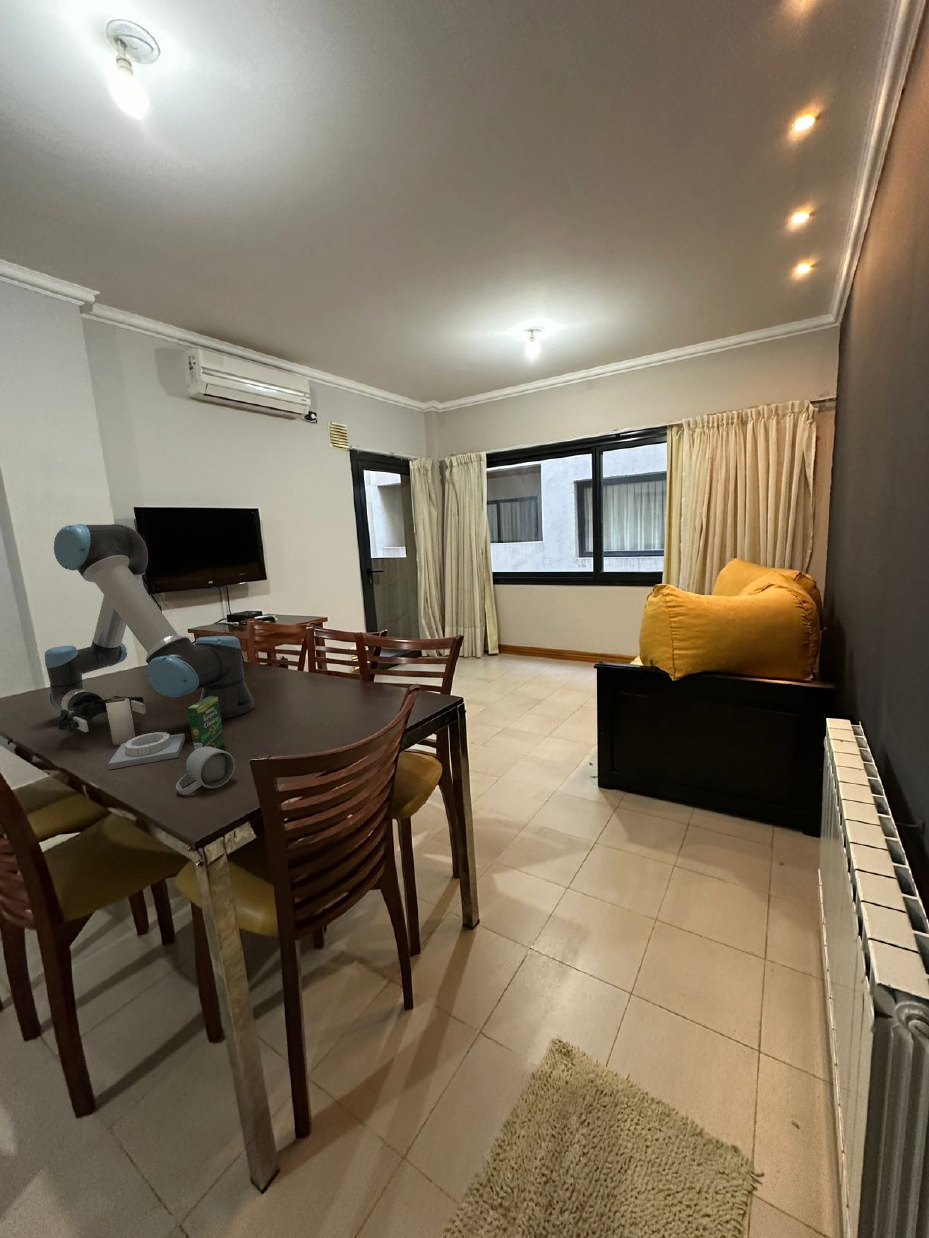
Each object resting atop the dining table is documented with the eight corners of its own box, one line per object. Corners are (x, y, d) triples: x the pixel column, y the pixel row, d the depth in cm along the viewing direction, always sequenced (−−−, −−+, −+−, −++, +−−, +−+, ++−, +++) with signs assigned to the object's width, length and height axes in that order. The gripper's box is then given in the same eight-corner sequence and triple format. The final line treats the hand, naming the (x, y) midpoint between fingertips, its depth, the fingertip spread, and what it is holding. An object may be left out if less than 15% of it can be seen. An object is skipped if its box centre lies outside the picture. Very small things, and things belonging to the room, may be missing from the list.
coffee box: (204, 759, 118) (197, 707, 115) (193, 759, 118) (186, 707, 116) (225, 744, 125) (219, 695, 123) (215, 744, 126) (208, 695, 123)
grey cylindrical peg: (137, 735, 133) (130, 695, 131) (133, 742, 129) (126, 701, 127) (115, 739, 132) (108, 698, 130) (110, 746, 127) (103, 704, 125)
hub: (185, 738, 130) (183, 726, 130) (178, 757, 119) (176, 743, 119) (122, 748, 125) (120, 736, 124) (109, 769, 114) (106, 755, 113)
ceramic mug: (218, 769, 112) (213, 737, 111) (238, 778, 108) (233, 746, 106) (169, 790, 104) (163, 757, 103) (188, 801, 99) (181, 766, 98)
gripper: (132, 703, 152) (167, 715, 141) (30, 732, 132) (61, 749, 120) (128, 679, 151) (163, 690, 139) (24, 705, 130) (55, 720, 119)
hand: (116, 717), depth 130 cm, fingers open, 13 cm apart
